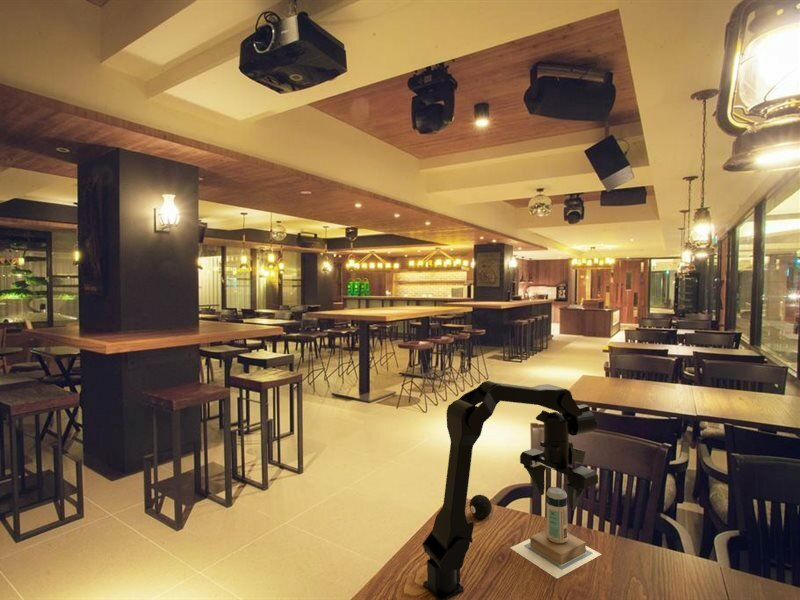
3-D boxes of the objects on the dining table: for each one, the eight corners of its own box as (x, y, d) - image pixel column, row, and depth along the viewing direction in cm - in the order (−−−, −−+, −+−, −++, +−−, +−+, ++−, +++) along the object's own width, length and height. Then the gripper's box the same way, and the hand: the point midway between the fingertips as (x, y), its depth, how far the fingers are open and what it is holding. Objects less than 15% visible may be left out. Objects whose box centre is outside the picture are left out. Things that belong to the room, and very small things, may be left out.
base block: (561, 565, 101) (560, 554, 101) (530, 546, 109) (530, 536, 109) (585, 552, 106) (585, 542, 106) (554, 535, 114) (554, 525, 114)
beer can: (565, 534, 110) (564, 486, 109) (569, 545, 105) (569, 495, 105) (545, 533, 110) (544, 485, 110) (548, 544, 106) (548, 494, 105)
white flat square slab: (557, 581, 97) (557, 578, 97) (509, 550, 109) (509, 547, 109) (601, 556, 105) (601, 553, 105) (553, 530, 117) (553, 527, 117)
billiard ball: (496, 518, 124) (495, 497, 124) (480, 524, 121) (479, 503, 121) (481, 509, 129) (480, 489, 129) (465, 515, 126) (465, 494, 126)
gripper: (612, 442, 103) (613, 508, 104) (547, 422, 119) (548, 480, 120) (581, 452, 98) (582, 522, 98) (517, 430, 113) (519, 490, 114)
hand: (557, 501), depth 107 cm, fingers open, 9 cm apart
